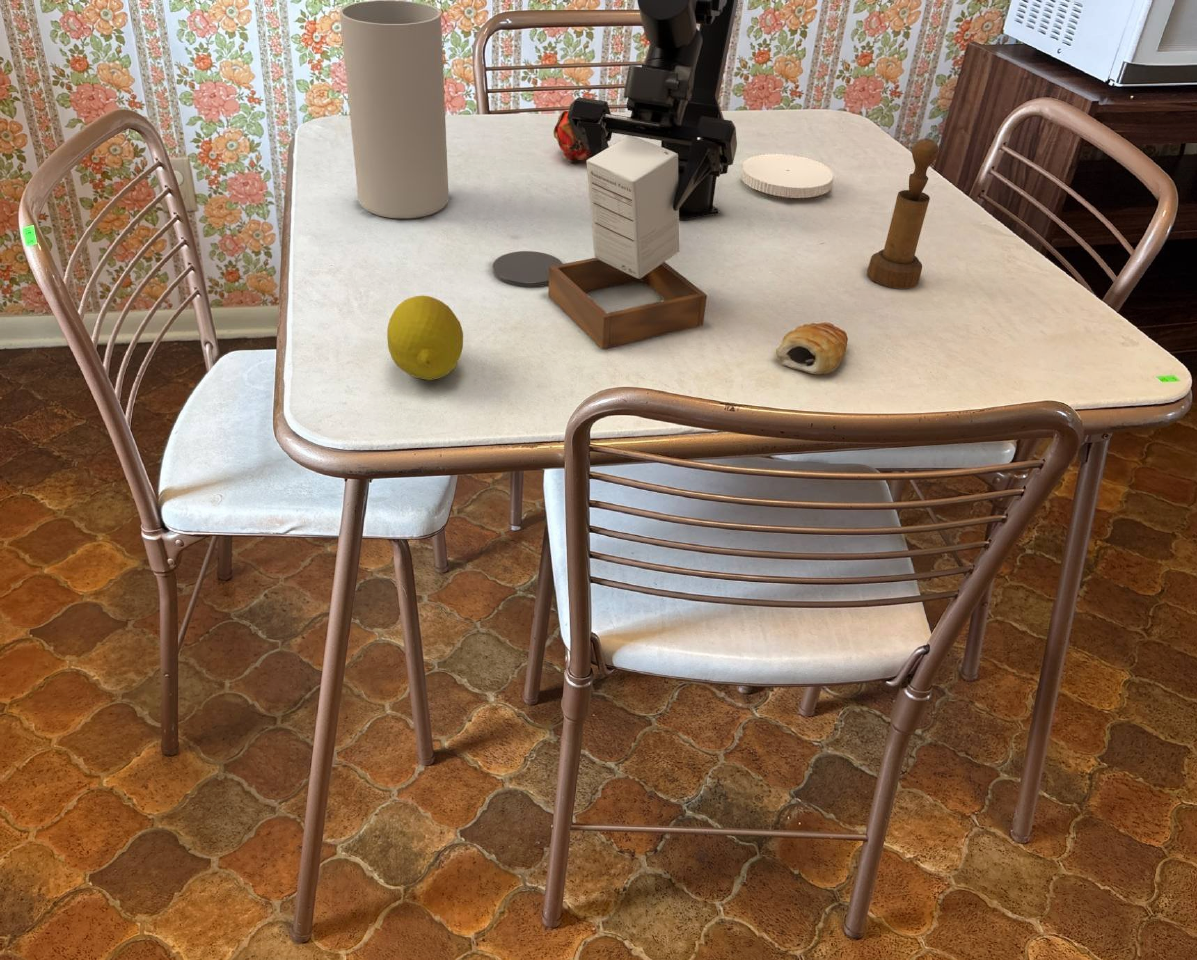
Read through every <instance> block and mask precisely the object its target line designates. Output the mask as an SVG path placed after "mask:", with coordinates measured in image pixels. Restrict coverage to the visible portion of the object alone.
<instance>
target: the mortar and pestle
mask: <svg viewBox="0 0 1197 960" xmlns="http://www.w3.org/2000/svg"><path fill="white" fill-rule="evenodd" d="M939 150H940V149H939V145H938V142H936V141H935V140H934V139H932V138H928V137H925V138H924V137H923V138H920V139H919V140H918V141H916V142H915V144H914V145H913V147H912V150H911V154H912V160H913V163H914V171H913V172H912V173H910V174H909V176H908V189H902V190H900V191H898V192H897V194H896V195H897V196H896V199H895V204H894V207H893V208H894V209H893V212H892V217H891V221H890V225H889V228H888V232H887V236H886V240H885V244H884V248H883V249H881V250H879V251H877V252H875V253H873V254H872V255H871V256H870V260H869V263H868V267H867V271H866V272H867V276H868V278H869V279H870V280H871V281H873V282H875V283H877V284H879V285H881V286H884V287H889V288H893V289H910V288H913V287H916V286H917V285H918V284H919V283H920V279H921V274H922V270H923V263H922V262H921V261H920V260H919V258H918V257H917V256H916V253H917V252H916V251H917V247H918V244H919V241H920V236H921V232H922V229H923V225H924V221H925V217H926V214H927V211H928V208H929V204H930V200H931V197H930V195H929V194H928V193H925V192H923V191H924V189H925V188H926V185H928V181H929V177H928V175H927V172H928V169H929V167H930V166H931V165H932V164H933V163H934V162H935V160H936V159H937V157H938V155H939V152H940V151H939Z"/></svg>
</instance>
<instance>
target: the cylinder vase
mask: <svg viewBox="0 0 1197 960" xmlns="http://www.w3.org/2000/svg"><path fill="white" fill-rule="evenodd" d="M339 19H340V28H341V29H340V30H341V40H342V49H343V51H342V52H343V59H344V68H345V78H346V79H345V81H346V90H347V100H348V109H349V119H350V120H349V121H350V129H351V139H352V150H353V160H354V169H355V179H356V189H357V199H358V202H359V204H360V205H361V207H362V208H363V209H364V210H366V211H367V212H368V213H371V214H374V215H375V216H379V217H384V218H389V219H404V220H406V219H417V218H423V217H427V216H431V215H433V214H435V213H437V212H439V211H441V210H443V208H445V206H447V204H448V201H449V197H450V196H449V174H448V173H449V172H448V150H447V149H448V147H447V146H448V145H447V128H446V127H447V125H446V123H447V122H446V103H445V77H444V55H443V53H444V52H443V51H444V50H443V31H442V30H443V28H442V12H441V10H440V9H439V8H438V7H435V6H433V5H429V4H427V3H422V2H416V1H410V0H409V1H408V0H364V1H359V2H353V3H349V4H347V5H345V6H343V7H341V8H340V10H339Z"/></svg>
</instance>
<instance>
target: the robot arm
mask: <svg viewBox="0 0 1197 960" xmlns="http://www.w3.org/2000/svg"><path fill="white" fill-rule="evenodd" d="M636 1H637V6H638V12H639V15H640V19H641V24H642V28H643V32H644V36H645V39H646V41H647V42H649V46H648V49H647V53H646V57H645V61H644V64H641V66H638V65H629V66H628V69H627V74H626V80H625V86H624V92H623V98H624V99H627V101H626V104H625V105H626V109H627V111H629V112H631V113H630V116H625V115H618V114H612V113H611V110H610V106H609V103H608V101H607V100H600V99H593V98H587V97H582V96H581V97H580V96H578V97H577V98H576V99H575V100H573V102H572V103H570V105H569V109H568V111H569V113H568V116H567V118H568V121H569V123H570V125H571V128H572V130H573V132H574V135H575V137H576V139H577V140H579V141H581V142H583V144H584V147H585V148H586V149H589V151H590V158H592V157H593V156H595V155H597V154H598V153H600V152H602V151H604V150H605V149H607V148H609V147H610V145H609V143H608V142H610V141H611V140H612V135H613V134H617V135H623V136H629V135H631V136H634V137H637V138H640V139H649V140H653V141H654V140H655V141H660V147H663V148H665V149H668V150H670V151H672V152H675V153H677V154H678V188H677V191H676V194H675V199H674V203H673V210H674V211H677V210H678V209H679V220H682V221H683V220H690V219H695V218H701V217H706V216H707V217H708V216H712V215H718V214H719V211H720V209H719V208H717V207H716V206H715V205H714V200H715V192H716V186H717V178H720V176H722V175H725V174H728V171H729V166H733V164H734V161H735V156H736V153H737V147H738V140H737V139H738V138H737V129H736V126H735V124H734V122H733V120H731V119H725V117H724V115H723V112H722V108H721V106H720V103H719V99H720V93H721V89H722V83H723V79H724V74H725V69H726V64H727V59H728V54H729V49H730V43H731V39H732V33H733V29H734V25H735V20H736V14H737V9H738V4H739V0H636ZM697 25H699V28H697ZM590 158H589V159H590Z"/></svg>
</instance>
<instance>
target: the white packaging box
mask: <svg viewBox="0 0 1197 960" xmlns="http://www.w3.org/2000/svg"><path fill="white" fill-rule="evenodd" d="M585 161H586V172H587V184H588V185H587V186H588V196H589V207H590V218H591V231H592V241H593V253H594V258H597V259H599V260H601V261H603V262H605V263H607V264H609V265H611V266H613V267H615V268H617V269H619V270H621V271H623V272H625V273H627V274H629V275H631V276H633V277H636V278H638V279H641V278H642V277H643V276H645V275H646V274H648V273H649V272H650V271H652V270H653V269H655V268H656V267H658V266H659V265H660V264H662V263H663V262H665V263H666V261H668V260H669V259H671V258H672V257H673V256H675V255H676V254H679V252H680V218H679V209H678V210H677V211H674V210H673V203H674V199H675V194H676V191H677V188H678V154H677V153H675V152H672V151H670V150H668V149H665V148H663V147H661V145H657V144H655V143H652V142H649V141H648V140H647V141H646V140H645V139H643V138H640V137H635V136H631V135H626V136H625V137H623V138H622V139H620V140H619V141H617V142H615V143H613V144H612V145H611V146H610V145H609V148H607V149H605V150H604V151H602V152H600V153H598V154H597V155H595V156H593V157H592V158H588V159H586V160H585Z"/></svg>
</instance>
